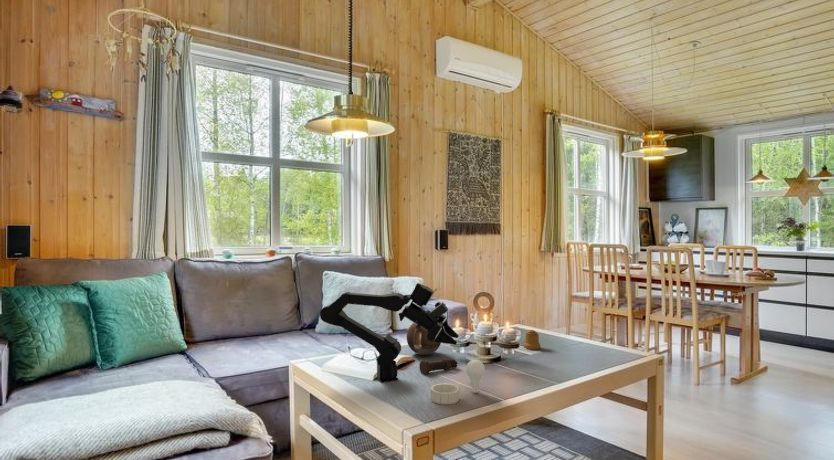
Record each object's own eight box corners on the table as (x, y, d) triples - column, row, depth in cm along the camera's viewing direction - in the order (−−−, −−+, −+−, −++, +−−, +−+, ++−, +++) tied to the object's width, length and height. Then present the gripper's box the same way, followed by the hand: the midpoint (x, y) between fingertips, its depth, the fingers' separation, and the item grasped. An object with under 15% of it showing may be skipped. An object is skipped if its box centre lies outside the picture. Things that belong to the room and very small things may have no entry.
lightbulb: (464, 389, 164) (464, 357, 164) (482, 389, 165) (482, 357, 164) (468, 396, 158) (468, 362, 158) (486, 396, 158) (486, 362, 158)
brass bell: (528, 345, 223) (543, 348, 218) (520, 348, 218) (535, 351, 213) (528, 328, 223) (543, 330, 218) (520, 330, 217) (535, 333, 212)
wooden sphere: (423, 347, 217) (423, 314, 217) (448, 354, 207) (449, 319, 206) (399, 354, 206) (399, 319, 206) (424, 361, 196) (425, 324, 196)
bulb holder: (438, 406, 149) (438, 395, 149) (425, 396, 158) (425, 385, 157) (464, 402, 153) (464, 391, 153) (450, 392, 161) (450, 382, 161)
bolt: (456, 373, 188) (423, 378, 180) (450, 364, 191) (417, 368, 184) (461, 362, 185) (428, 366, 177) (455, 353, 189) (422, 357, 181)
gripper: (427, 301, 163) (467, 326, 161) (434, 293, 181) (470, 315, 179) (411, 329, 164) (450, 354, 162) (419, 318, 182) (454, 340, 180)
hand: (457, 340), depth 171 cm, fingers open, 9 cm apart
